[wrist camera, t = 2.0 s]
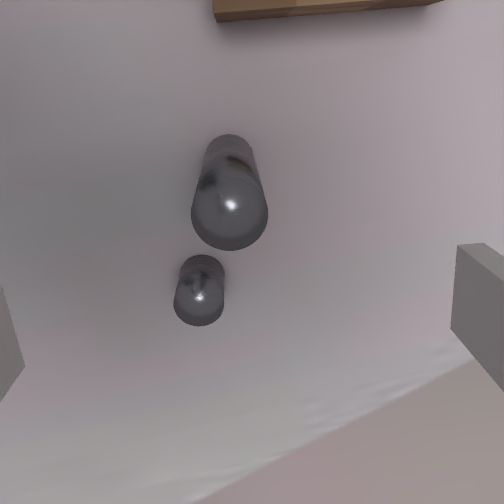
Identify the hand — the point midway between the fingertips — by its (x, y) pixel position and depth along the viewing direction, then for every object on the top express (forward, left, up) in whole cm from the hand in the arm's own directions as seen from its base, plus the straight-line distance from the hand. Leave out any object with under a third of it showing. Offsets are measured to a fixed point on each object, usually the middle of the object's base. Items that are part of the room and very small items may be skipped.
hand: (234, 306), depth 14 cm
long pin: (0, 0, -23) cm, 23 cm away
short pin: (+9, -3, -23) cm, 24 cm away
